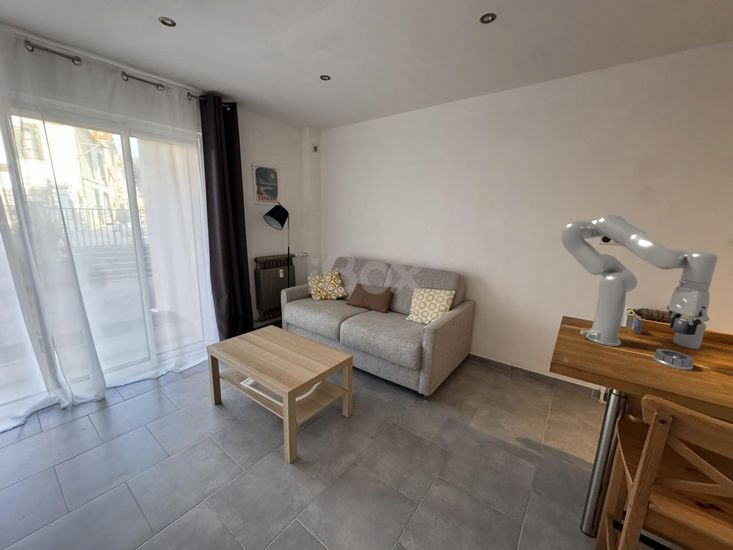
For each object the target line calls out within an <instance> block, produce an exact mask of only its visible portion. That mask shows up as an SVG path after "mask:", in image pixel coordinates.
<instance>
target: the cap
mask: <svg viewBox="0 0 733 550" xmlns="http://www.w3.org/2000/svg"><path fill="white" fill-rule="evenodd" d="M687 324H689V318H685V317H681V318H678V317H677V318H675V321H674V325H673V329H672V328H671V331H672V332H677V333H681V334H685V329H686V326H687ZM686 335H687V334H686Z"/></svg>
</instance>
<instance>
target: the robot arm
mask: <svg viewBox="0 0 733 550" xmlns="http://www.w3.org/2000/svg"><path fill="white" fill-rule="evenodd" d="M561 231H562V232H561V235H560V236H561V242H562V246H563V247H564V248H565V249H566V250H567V252H568V253H569V254H571V255H572V257H574V258H575V259H576V261H577V262H578V263H579V264H580V265H581V266H582V267H583V269H585V270H586V271H587V272H588V273H589V274H590V275H593V276H601V277H602V278H601V280H600V281H599V284H598V285H599V287H598V297H597V302H596V309H595V312H594V317H593V322H592V327H590V328H589V329H587V330H584V329H581V330H580V331H579V332H580V333H579V334H581V335H585V337H586V338H587V339H588V340H589V341H591V342H593V343H597V344H600V345H603V346H607V347H608V346H609V347H619V346H621V344H622V341H621V340H619V339H618V337H619V333H620V329H621V325H622V320H623V317H624V313H625V312H624V311H625V307H626V302H627V293H629V292H632V291H633V290H635V289H636V287H637V285H638V278H637V277H636V276H635V274H634V273H632V272H631V271H630V269H628V267H626V266H625V265H624V264H623V263H622V262H621V261H619V260H618V259H617V258H616V257H614V256H613V255H610V254H607V253H603V254H602V253H601V252H599V251H598V250H597V249H596V248H595V247H594V246H593V245H592V244H590V243H589V242H588V241H587V240H588V239H593V238H601V237H607V239H610V240H611V241H614V242H616V243H617V244H619V245H621V246H623V247H624V248H626V249H627V250H628V251H629V252H631V253H632V254H634V255H635V256H636V257H638V258H639V259H641V260H643V261H645V262H646V263H648V264H650V265H652V267H656V268H658V269H660V270H665V271H666V270H675V269H683V270H682V273H681V277H680V279H679V280H678V283H679V284H678V285H677V286H676V287H675V288H674V290H673V293H672V294H671V297H670V300H669V304H668V305H667V306H666V309H667V311H668V312H669V315H670V316H669V317H670V318H671V321H670V324H669V329H671V330H672V329H673V325H674V321H675V318H677V317H678V318H682V316H686V317H688V319H689V324H687V326H686V329H685V334H687V335H695V332H696V329H697V325H700V324H701V323H704V324H705V322H710V320H711V319H710V317H709V315H708V309H709V306H710V305H709V304H710V291H709V290H710V287H711V283H712V279H713V276H714V272H715V268H716V265H717V262H718V256H717V255H716V254H715V253H710V252H701V251H695V252H694V251H687V250H683V249H674V248H673V249H669V248H667V247H666V246H663V245H662V244H659V243H657V242H656V241H655V240H653V239H651V238H650V236H648V235H647V233H646V232H645V231H644V230H642V229H641V228H639V227H637V226H635V225H633V224H630V223H629V222H628V221H627V222H626V219H624V218H623V217H622V216H620V215H615V214H614V215H613V214H605V215H602V216H601V217H599V218H598V219H594V220H588V221H586V220H574V221H570V222H568V223H566V225H565V226H563V229H562V230H561ZM585 239H587V240H585Z"/></svg>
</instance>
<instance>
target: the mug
mask: <svg viewBox="0 0 733 550" xmlns="http://www.w3.org/2000/svg"><path fill="white" fill-rule="evenodd" d="M706 328H707V324H705V322H704V323H701V324H700V325H697V329H696V332H695V335H686V334H681V333H677V332H675V333H674V336H673V339H672V342H673V343H674V344H675V345H676V346H680V347H682V348H687V349H691V350H692V349H693V350H699V349H701V345H702V342H703V339H704V336H705V331H706Z"/></svg>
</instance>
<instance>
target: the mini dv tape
mask: <svg viewBox="0 0 733 550" xmlns="http://www.w3.org/2000/svg"><path fill="white" fill-rule="evenodd" d="M643 325H644V323H643V322H642V321H641V320H640V319H639V318H633V319H632V324H631V327H630V330H631V331H632V332H633V333H634V334H635V335H639V336H641V333H642V329H643Z"/></svg>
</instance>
